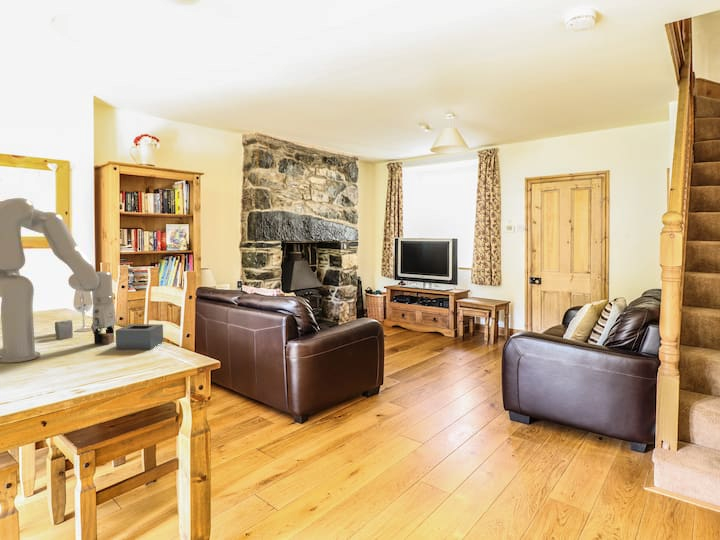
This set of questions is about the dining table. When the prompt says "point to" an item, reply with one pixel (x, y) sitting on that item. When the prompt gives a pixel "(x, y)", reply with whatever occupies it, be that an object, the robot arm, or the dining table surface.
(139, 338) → the box
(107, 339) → the brown block
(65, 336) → the grey block
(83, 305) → the wineglass
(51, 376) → the dining table surface
